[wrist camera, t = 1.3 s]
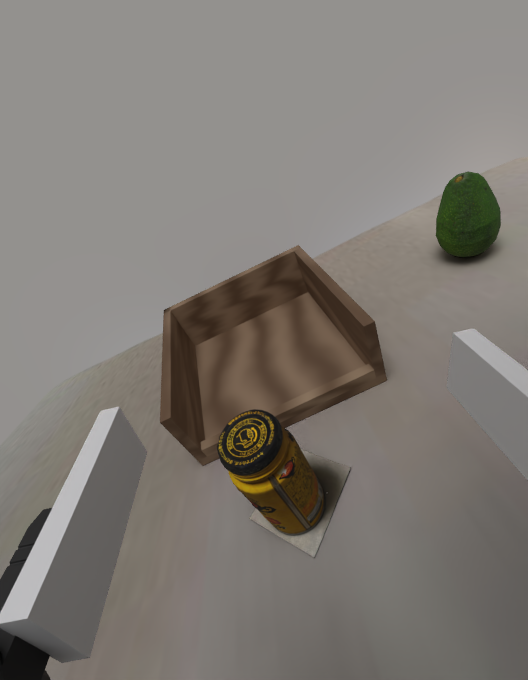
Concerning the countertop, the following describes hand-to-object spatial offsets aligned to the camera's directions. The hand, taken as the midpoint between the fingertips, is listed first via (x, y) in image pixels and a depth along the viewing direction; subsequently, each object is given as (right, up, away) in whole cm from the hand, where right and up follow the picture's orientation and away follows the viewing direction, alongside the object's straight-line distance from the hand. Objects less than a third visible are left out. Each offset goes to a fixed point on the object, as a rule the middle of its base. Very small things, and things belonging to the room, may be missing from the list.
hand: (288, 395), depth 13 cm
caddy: (0, -1, +35) cm, 35 cm away
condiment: (+3, -13, +19) cm, 23 cm away
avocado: (+30, +15, +36) cm, 49 cm away
